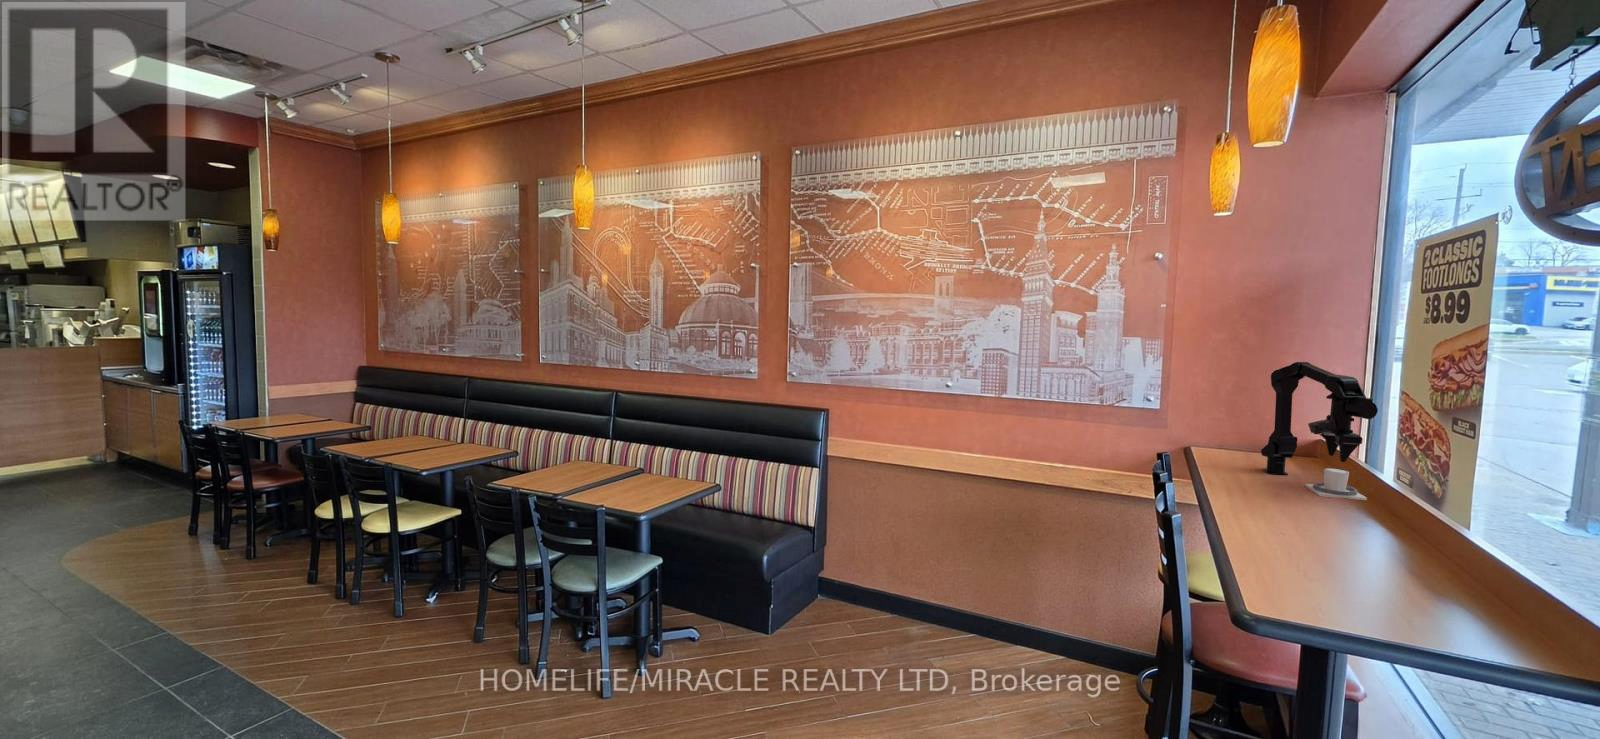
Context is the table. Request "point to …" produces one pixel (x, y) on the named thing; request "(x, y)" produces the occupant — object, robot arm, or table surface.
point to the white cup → (1335, 479)
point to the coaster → (1335, 492)
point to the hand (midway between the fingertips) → (1336, 458)
